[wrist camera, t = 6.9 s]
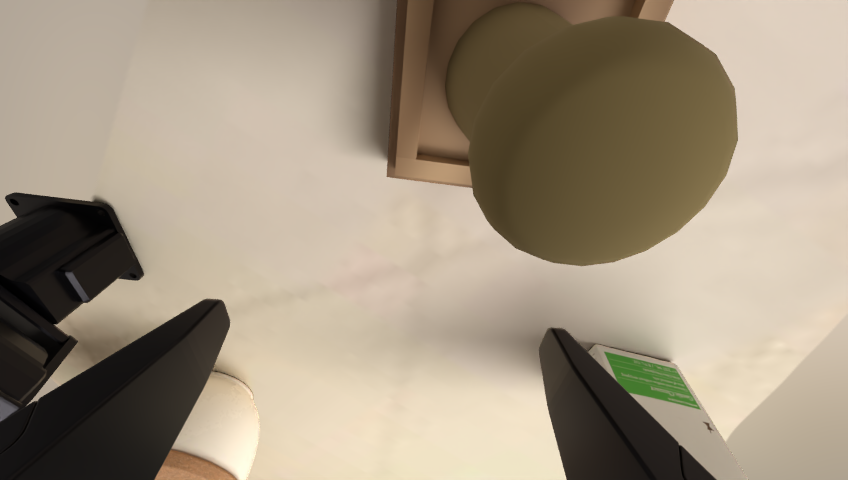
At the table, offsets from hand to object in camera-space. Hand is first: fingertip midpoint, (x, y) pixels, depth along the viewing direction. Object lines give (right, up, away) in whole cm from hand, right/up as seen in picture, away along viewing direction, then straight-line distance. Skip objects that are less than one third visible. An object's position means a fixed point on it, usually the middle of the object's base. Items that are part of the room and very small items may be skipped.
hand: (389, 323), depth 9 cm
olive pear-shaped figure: (+5, +10, +6) cm, 12 cm away
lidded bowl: (-21, -13, +26) cm, 35 cm away
